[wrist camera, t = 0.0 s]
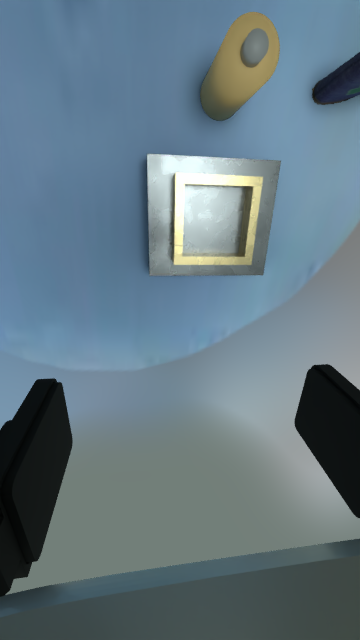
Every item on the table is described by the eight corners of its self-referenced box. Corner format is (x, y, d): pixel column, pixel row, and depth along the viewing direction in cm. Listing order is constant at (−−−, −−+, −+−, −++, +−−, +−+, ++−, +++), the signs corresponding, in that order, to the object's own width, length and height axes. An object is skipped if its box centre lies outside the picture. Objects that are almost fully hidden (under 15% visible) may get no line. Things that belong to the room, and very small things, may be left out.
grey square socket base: (146, 159, 33) (147, 149, 28) (266, 165, 35) (291, 157, 30) (148, 268, 39) (149, 280, 33) (252, 268, 41) (270, 279, 35)
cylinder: (201, 66, 30) (230, -3, 20) (243, 70, 31) (291, 6, 21) (199, 119, 32) (224, 81, 22) (238, 122, 33) (280, 86, 23)
